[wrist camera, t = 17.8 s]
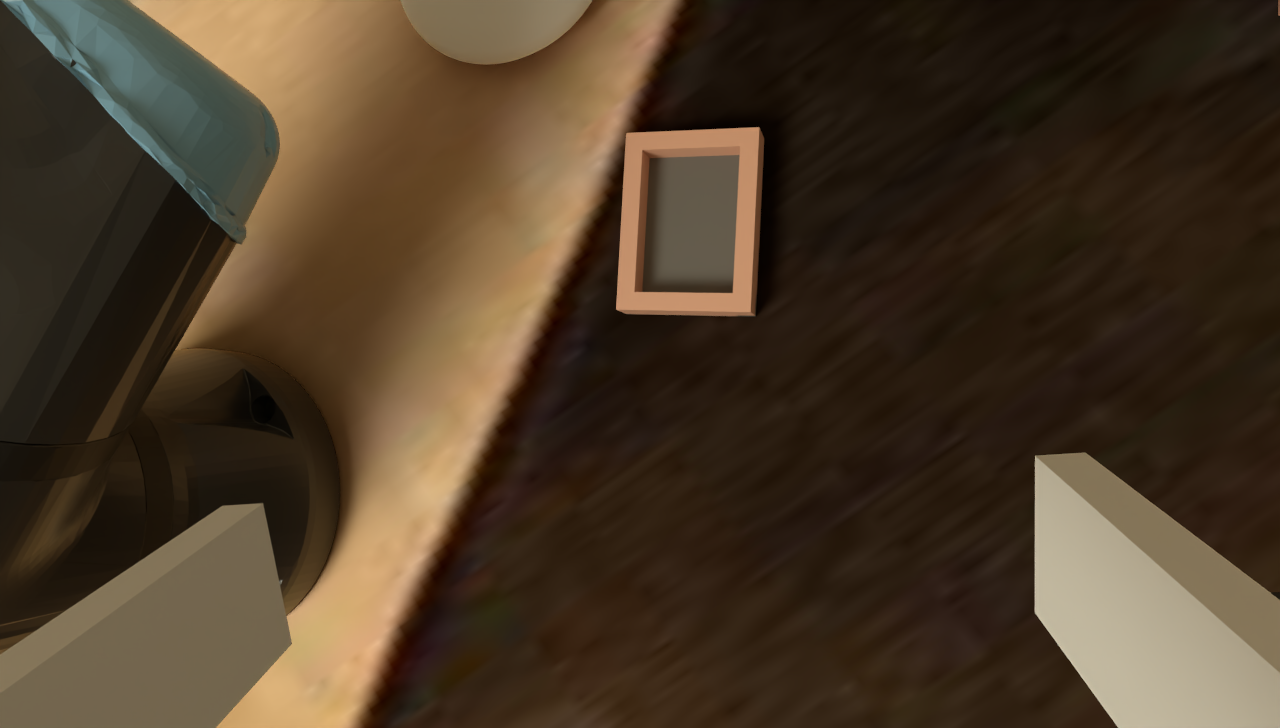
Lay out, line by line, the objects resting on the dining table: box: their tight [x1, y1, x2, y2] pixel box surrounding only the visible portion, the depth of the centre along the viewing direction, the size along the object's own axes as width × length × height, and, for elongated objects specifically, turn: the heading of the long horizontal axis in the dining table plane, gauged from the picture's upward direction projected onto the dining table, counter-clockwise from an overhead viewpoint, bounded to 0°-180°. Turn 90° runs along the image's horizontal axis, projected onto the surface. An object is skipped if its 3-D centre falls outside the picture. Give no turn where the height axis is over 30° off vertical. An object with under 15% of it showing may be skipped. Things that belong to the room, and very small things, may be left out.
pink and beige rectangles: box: [616, 0, 1280, 317], centre depth 34 cm, size 32×25×2 cm
